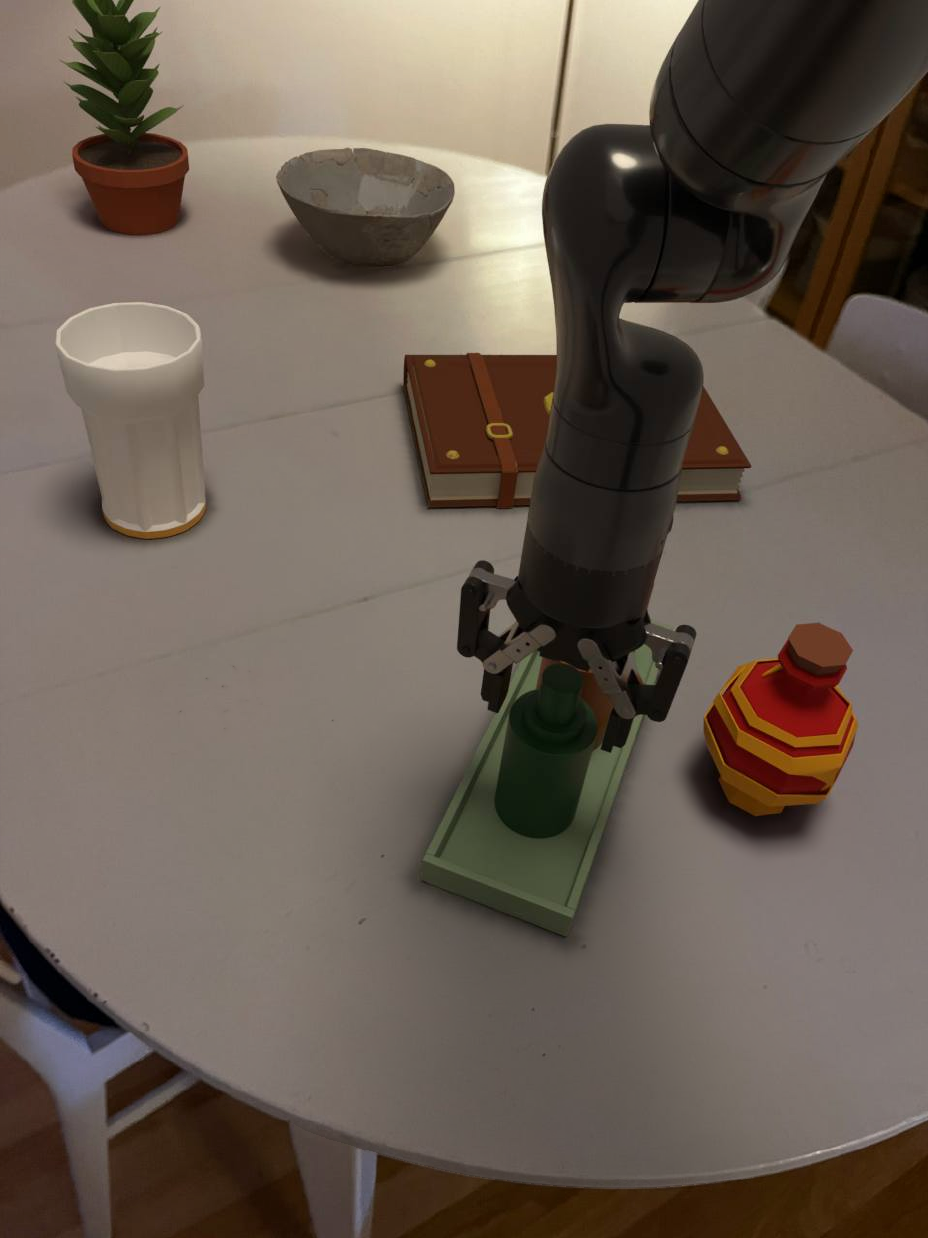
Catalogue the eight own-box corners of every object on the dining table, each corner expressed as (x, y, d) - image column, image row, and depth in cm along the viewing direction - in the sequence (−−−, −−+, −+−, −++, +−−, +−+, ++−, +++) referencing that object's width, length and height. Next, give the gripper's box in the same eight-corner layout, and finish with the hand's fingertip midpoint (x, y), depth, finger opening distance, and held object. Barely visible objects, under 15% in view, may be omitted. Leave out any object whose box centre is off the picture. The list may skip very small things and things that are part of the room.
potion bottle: (819, 748, 79) (891, 606, 69) (828, 859, 71) (911, 719, 61) (684, 721, 80) (736, 577, 69) (680, 828, 72) (737, 684, 62)
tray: (566, 937, 65) (572, 918, 64) (420, 880, 67) (422, 859, 66) (667, 647, 86) (673, 626, 84) (552, 610, 88) (556, 589, 86)
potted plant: (214, 207, 143) (193, -44, 122) (166, 249, 132) (134, -18, 111) (115, 188, 144) (78, -62, 124) (59, 229, 134) (9, -38, 113)
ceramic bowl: (403, 311, 125) (407, 231, 118) (245, 262, 131) (240, 183, 124) (478, 249, 140) (486, 174, 133) (333, 207, 146) (333, 134, 139)
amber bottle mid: (619, 744, 77) (656, 618, 68) (551, 765, 75) (580, 638, 66) (582, 690, 80) (613, 564, 72) (516, 708, 78) (539, 582, 70)
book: (740, 502, 102) (754, 461, 98) (428, 510, 97) (431, 467, 93) (673, 383, 118) (683, 344, 114) (402, 384, 113) (404, 343, 109)
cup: (104, 558, 88) (67, 380, 76) (79, 484, 95) (43, 310, 83) (233, 532, 92) (218, 358, 80) (200, 462, 99) (182, 293, 87)
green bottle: (590, 824, 71) (626, 699, 62) (516, 849, 69) (542, 723, 60) (552, 762, 75) (581, 636, 66) (480, 784, 73) (500, 657, 64)
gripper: (448, 521, 54) (428, 726, 65) (715, 604, 51) (646, 804, 62) (496, 450, 59) (470, 651, 70) (741, 521, 56) (673, 719, 67)
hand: (553, 722), depth 66 cm, fingers open, 7 cm apart
